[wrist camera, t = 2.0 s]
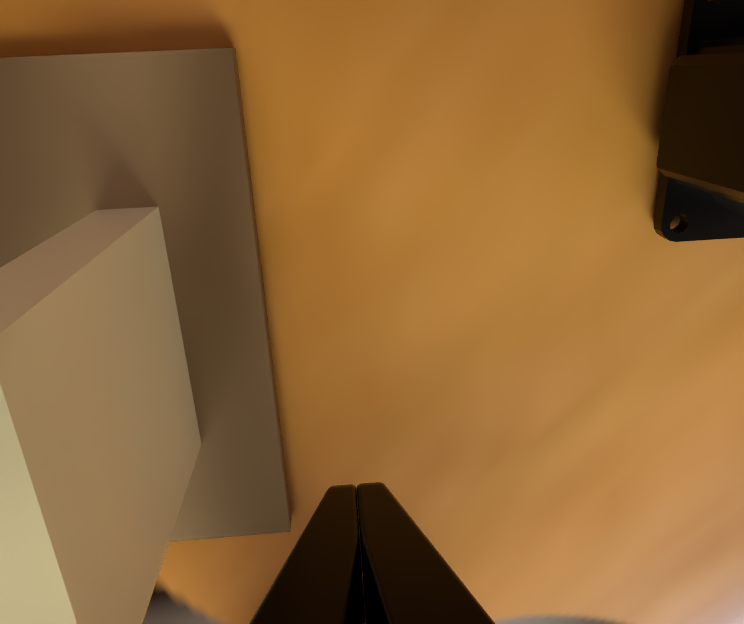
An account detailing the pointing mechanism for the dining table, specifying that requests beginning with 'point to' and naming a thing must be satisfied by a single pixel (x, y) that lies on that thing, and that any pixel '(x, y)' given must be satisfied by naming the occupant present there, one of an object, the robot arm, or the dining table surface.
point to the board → (181, 233)
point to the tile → (91, 422)
